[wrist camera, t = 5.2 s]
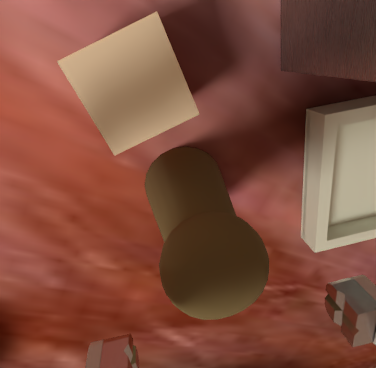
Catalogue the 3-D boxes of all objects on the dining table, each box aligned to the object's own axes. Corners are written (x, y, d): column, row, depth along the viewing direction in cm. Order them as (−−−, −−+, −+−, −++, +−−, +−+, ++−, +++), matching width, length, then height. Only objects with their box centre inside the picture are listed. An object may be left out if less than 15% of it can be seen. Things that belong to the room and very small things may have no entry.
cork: (135, 207, 22) (134, 334, 12) (159, 136, 20) (182, 219, 10) (204, 223, 23) (253, 345, 14) (233, 159, 21) (315, 249, 12)
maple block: (77, 59, 17) (56, 61, 12) (151, 22, 17) (157, 11, 12) (119, 131, 19) (114, 155, 15) (184, 99, 19) (199, 114, 14)
